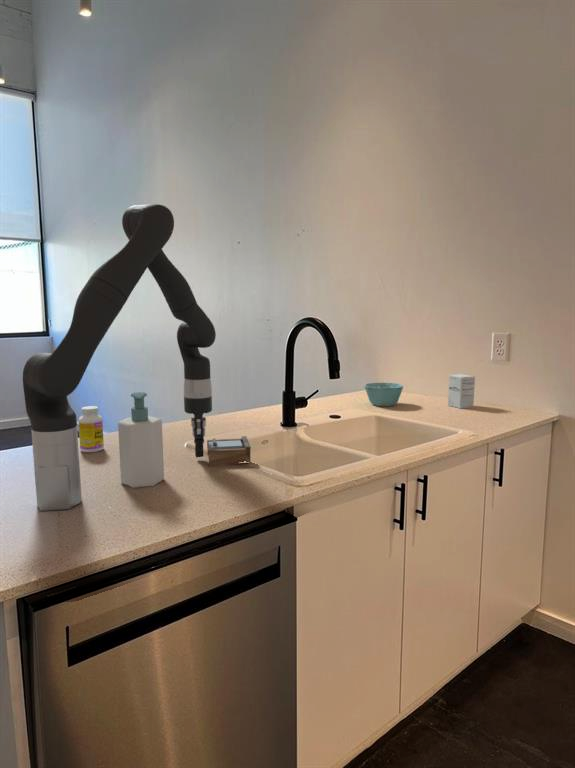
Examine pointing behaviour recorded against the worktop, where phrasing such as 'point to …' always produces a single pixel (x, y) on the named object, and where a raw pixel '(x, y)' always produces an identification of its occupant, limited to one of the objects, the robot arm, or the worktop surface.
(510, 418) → the worktop surface
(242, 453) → the bay
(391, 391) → the bowl
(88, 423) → the supplement bottle
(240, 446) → the blue slab with ledge
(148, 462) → the soap bottle
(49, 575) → the worktop surface
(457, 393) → the supplement box
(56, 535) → the worktop surface
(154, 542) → the worktop surface
